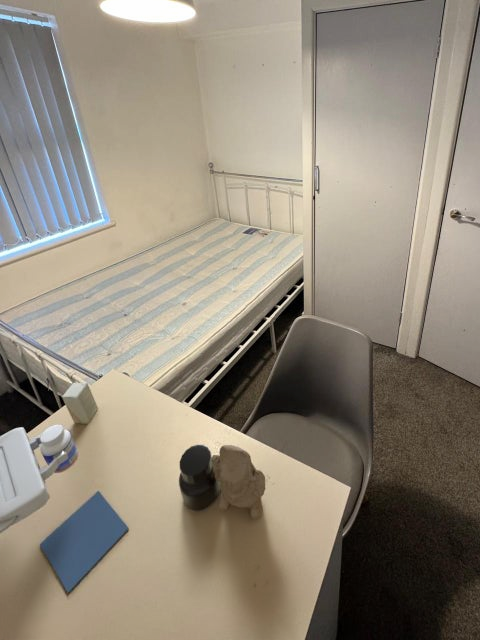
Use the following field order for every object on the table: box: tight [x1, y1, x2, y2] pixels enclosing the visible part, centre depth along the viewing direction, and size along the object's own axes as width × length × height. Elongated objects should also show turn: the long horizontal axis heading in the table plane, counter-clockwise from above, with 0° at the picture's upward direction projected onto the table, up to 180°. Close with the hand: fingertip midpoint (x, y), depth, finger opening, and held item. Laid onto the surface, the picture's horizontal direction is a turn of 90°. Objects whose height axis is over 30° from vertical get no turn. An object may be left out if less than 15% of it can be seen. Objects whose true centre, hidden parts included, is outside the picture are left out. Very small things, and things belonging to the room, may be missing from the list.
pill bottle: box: [39, 424, 79, 474], centre depth 70 cm, size 5×5×10 cm
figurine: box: [211, 444, 266, 520], centre depth 69 cm, size 13×7×20 cm, turn 72°
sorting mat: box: [39, 490, 130, 594], centre depth 69 cm, size 13×12×1 cm
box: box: [61, 382, 99, 424], centre depth 92 cm, size 5×4×11 cm
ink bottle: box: [178, 443, 221, 512], centre depth 74 cm, size 10×9×12 cm
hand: (61, 442), depth 70 cm, fingers closed on pill bottle, 5 cm apart
